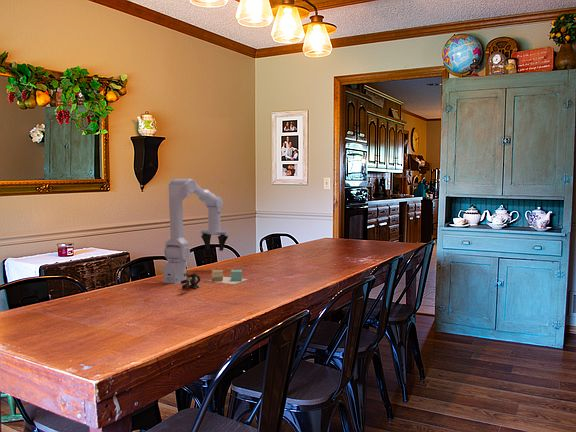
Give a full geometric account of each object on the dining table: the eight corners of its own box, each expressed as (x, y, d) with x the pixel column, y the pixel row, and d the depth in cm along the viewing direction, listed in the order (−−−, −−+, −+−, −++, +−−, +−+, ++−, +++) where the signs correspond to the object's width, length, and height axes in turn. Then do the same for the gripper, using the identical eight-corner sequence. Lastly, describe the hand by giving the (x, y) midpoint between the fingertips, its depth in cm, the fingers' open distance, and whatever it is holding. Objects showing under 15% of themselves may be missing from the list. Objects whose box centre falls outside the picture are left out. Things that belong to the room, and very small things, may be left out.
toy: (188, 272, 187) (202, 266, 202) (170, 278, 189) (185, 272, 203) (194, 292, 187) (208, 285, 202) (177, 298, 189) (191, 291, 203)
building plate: (234, 285, 205) (234, 284, 205) (206, 282, 211) (206, 280, 211) (247, 280, 215) (247, 279, 215) (221, 277, 221) (221, 276, 221)
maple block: (222, 281, 211) (222, 271, 210) (211, 281, 210) (211, 271, 210) (223, 279, 215) (223, 269, 215) (212, 279, 215) (212, 270, 214)
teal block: (241, 281, 211) (241, 271, 211) (231, 281, 211) (231, 271, 210) (241, 278, 216) (241, 269, 215) (231, 279, 215) (231, 269, 215)
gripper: (232, 221, 236) (232, 249, 237) (206, 220, 242) (206, 248, 243) (223, 222, 230) (223, 251, 230) (198, 221, 236) (198, 249, 237)
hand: (214, 250), depth 236 cm, fingers open, 7 cm apart
